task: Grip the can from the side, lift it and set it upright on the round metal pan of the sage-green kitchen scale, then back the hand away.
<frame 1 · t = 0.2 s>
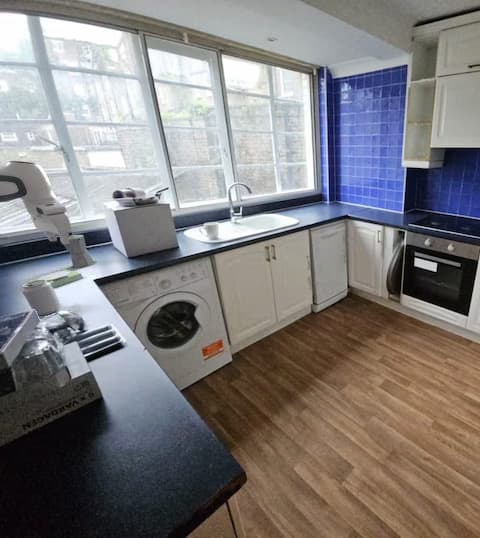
hand: (59, 242, 114), 23 cm above the table, tool pointing down, fingers open, 8 cm apart
can: (49, 311, 112), on the table
coffeepot: (83, 264, 156), on the table
scale: (56, 281, 136), on the table
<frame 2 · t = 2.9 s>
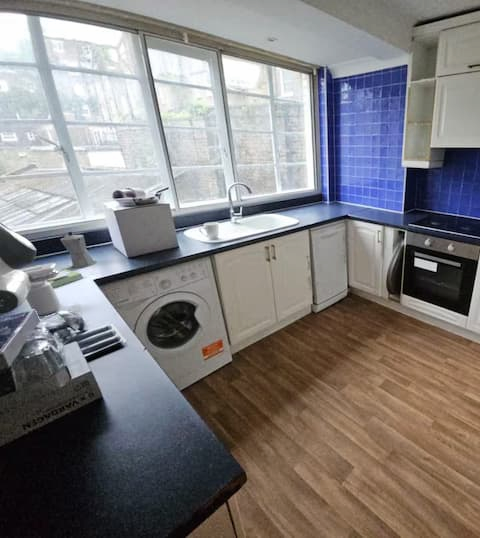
hand: (17, 272, 95), 20 cm above the table, tool horizontal, fingers open, 8 cm apart
nothing on the table moved.
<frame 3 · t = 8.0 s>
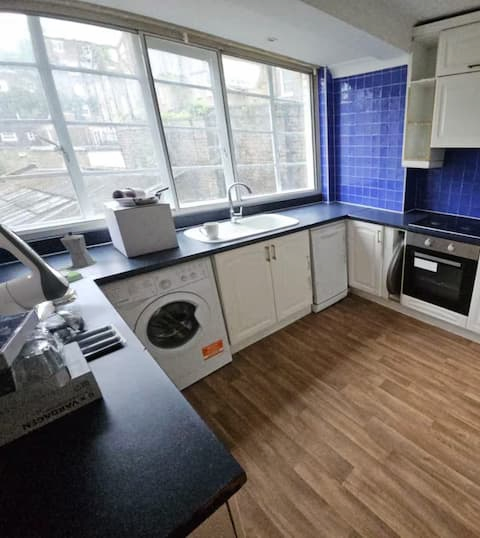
hand: (41, 295, 109), 6 cm above the table, tool horizontal, fingers closed on can, 7 cm apart
can: (49, 311, 112), on the table, touching gripper
everything else where it was.
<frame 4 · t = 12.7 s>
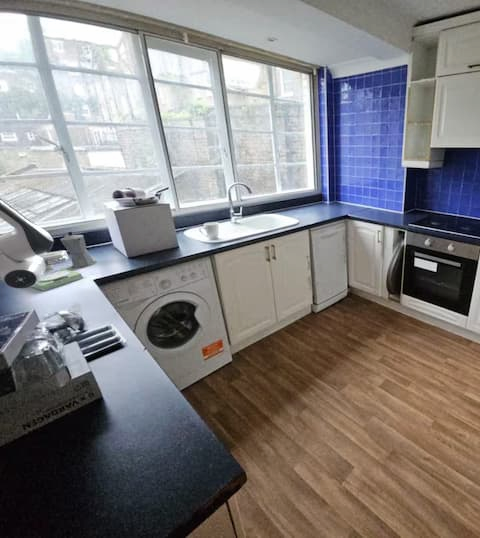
hand: (35, 256, 119), 17 cm above the table, tool horizontal, fingers closed on can, 7 cm apart
can: (42, 272, 121), point 10 cm above the table, touching gripper
everything else where it was.
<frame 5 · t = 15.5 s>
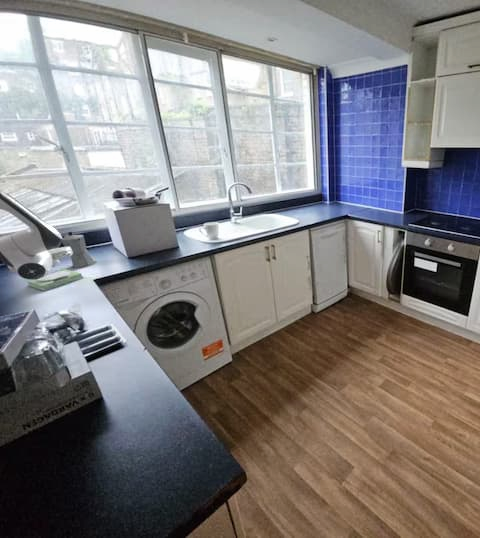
hand: (42, 252, 131), 14 cm above the table, tool horizontal, fingers closed on can, 7 cm apart
can: (49, 266, 133), point 8 cm above the table, touching gripper
everything else where it was.
when the fingers open (10 cm above the table, at t = 17.6 s): can stays where it is, resting on scale.
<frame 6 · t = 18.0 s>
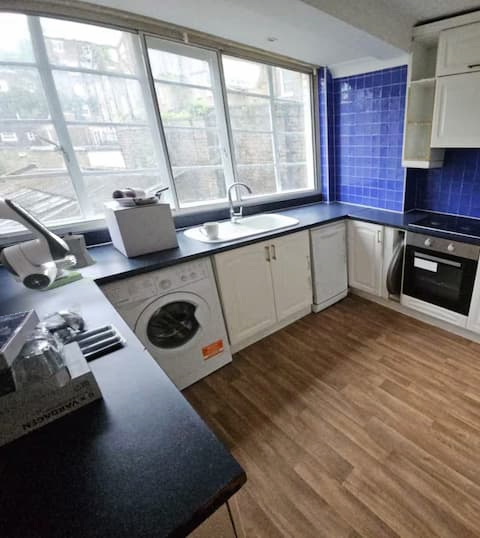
hand: (46, 261, 133), 10 cm above the table, tool horizontal, fingers open, 8 cm apart
can: (54, 276, 135), point 3 cm above the table, touching gripper, scale
everything else where it was.
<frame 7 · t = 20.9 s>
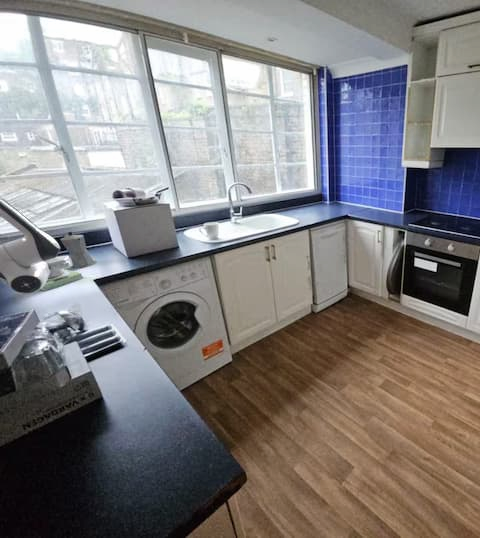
hand: (38, 261, 122), 14 cm above the table, tool horizontal, fingers open, 8 cm apart
can: (54, 276, 135), point 3 cm above the table, touching scale
everything else where it was.
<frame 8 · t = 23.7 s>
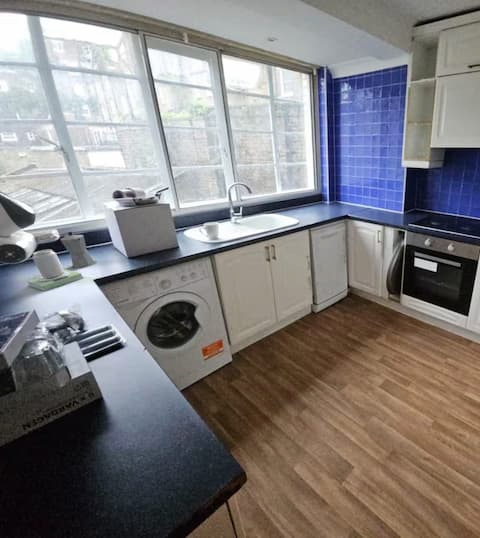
hand: (25, 235, 118), 25 cm above the table, tool horizontal, fingers open, 8 cm apart
nothing on the table moved.
at the end: can inside the target area on the scale (0.3 cm from its centre), point 2.9 cm above the scale's base; can tilted 0°; the gripper is holding nothing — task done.
